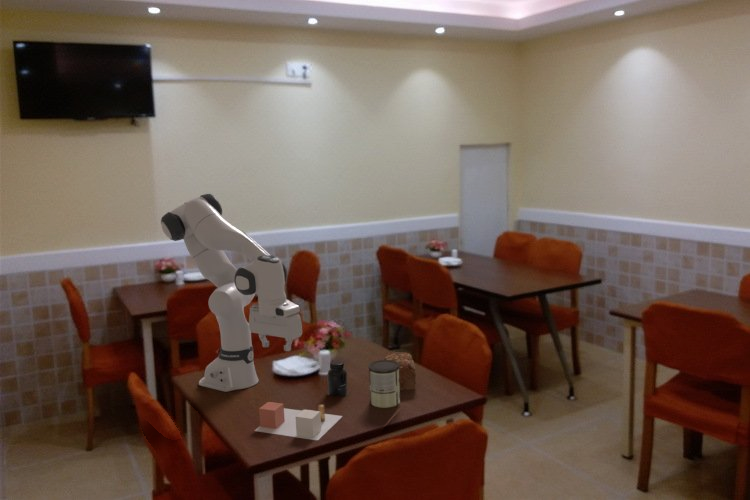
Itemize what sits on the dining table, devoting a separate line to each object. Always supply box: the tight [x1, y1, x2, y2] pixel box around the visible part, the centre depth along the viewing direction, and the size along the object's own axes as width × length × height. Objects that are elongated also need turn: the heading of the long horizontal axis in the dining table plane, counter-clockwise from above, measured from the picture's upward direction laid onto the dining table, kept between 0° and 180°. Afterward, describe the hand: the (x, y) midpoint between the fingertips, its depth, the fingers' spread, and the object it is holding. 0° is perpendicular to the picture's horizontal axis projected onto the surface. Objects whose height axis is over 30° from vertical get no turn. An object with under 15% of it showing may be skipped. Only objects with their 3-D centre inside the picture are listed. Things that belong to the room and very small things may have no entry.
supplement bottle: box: [327, 360, 348, 398], centre depth 230 cm, size 7×7×12 cm
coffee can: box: [368, 359, 401, 409], centre depth 220 cm, size 10×10×14 cm
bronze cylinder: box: [317, 403, 326, 422], centre depth 208 cm, size 2×2×5 cm
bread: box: [384, 351, 417, 392], centre depth 241 cm, size 19×11×10 cm, turn 2°
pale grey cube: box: [296, 408, 321, 438], centre depth 200 cm, size 6×6×6 cm
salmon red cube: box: [258, 401, 285, 429], centre depth 207 cm, size 6×6×6 cm
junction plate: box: [254, 407, 343, 441], centre depth 207 cm, size 22×18×1 cm
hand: (276, 348), depth 208 cm, fingers open, 8 cm apart
